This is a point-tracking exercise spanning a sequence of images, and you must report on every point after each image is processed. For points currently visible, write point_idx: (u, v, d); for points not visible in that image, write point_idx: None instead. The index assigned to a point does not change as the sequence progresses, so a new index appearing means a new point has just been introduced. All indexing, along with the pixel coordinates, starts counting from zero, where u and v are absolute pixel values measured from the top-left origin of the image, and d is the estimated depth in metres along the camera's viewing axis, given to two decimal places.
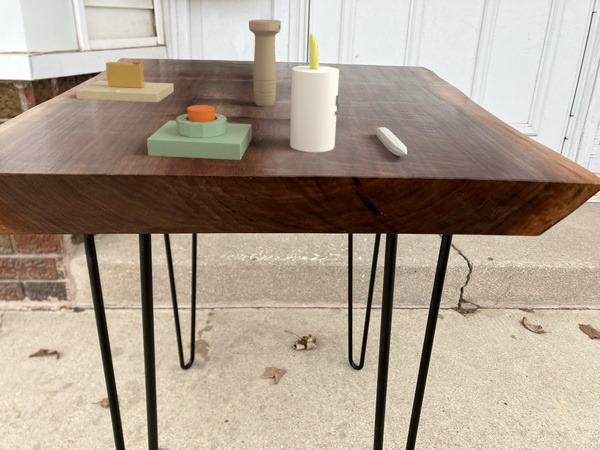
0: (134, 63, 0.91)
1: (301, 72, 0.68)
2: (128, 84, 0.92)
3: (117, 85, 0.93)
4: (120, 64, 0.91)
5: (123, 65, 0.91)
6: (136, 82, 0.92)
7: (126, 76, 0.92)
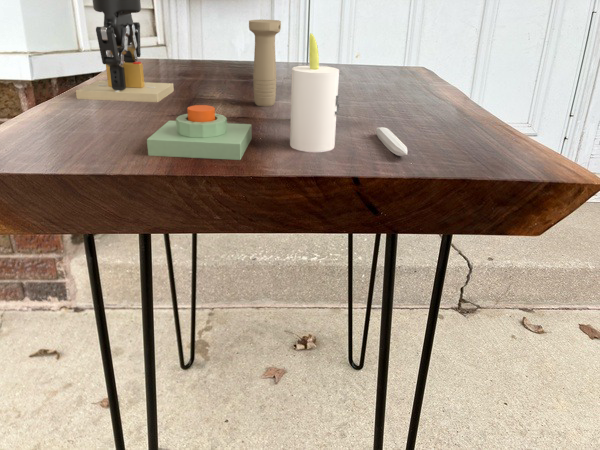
0: (134, 63, 0.91)
1: (301, 72, 0.68)
2: (128, 84, 0.92)
3: None
4: None
5: None
6: (136, 82, 0.92)
7: (126, 76, 0.92)
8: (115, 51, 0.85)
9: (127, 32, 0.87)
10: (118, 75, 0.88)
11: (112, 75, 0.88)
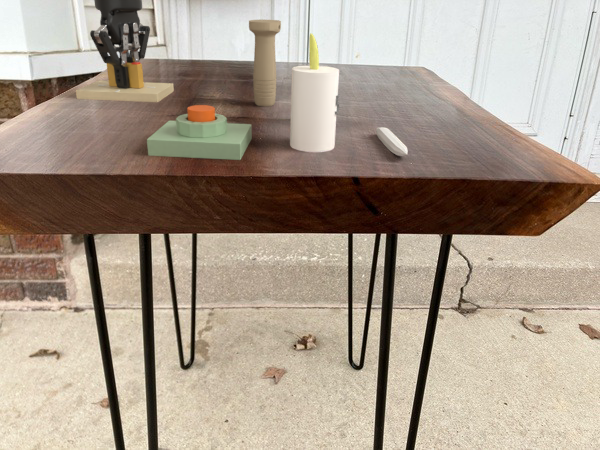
0: (132, 63, 0.91)
1: (301, 72, 0.68)
2: None
3: None
4: None
5: None
6: (134, 82, 0.92)
7: None
8: (112, 52, 0.86)
9: (124, 30, 0.87)
10: (120, 74, 0.90)
11: (115, 74, 0.90)
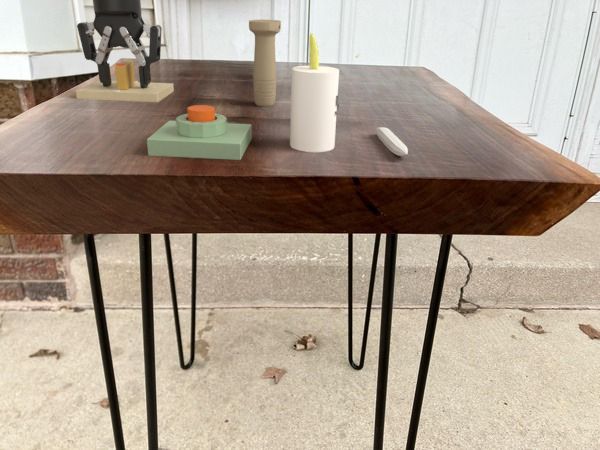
0: (117, 64, 0.90)
1: (301, 72, 0.68)
2: None
3: None
4: None
5: None
6: None
7: None
8: (84, 46, 0.89)
9: (105, 33, 0.88)
10: (98, 71, 0.92)
11: None
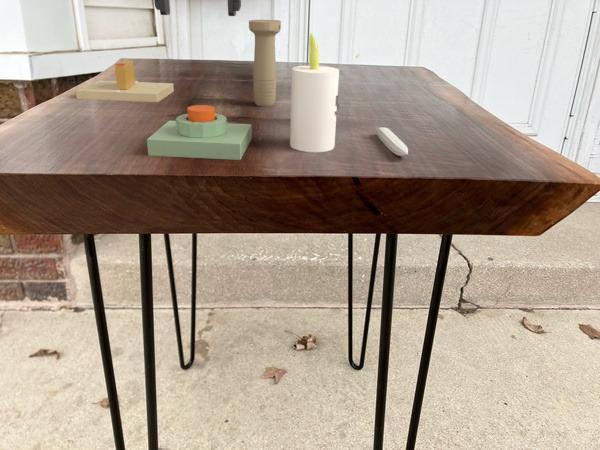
0: (117, 64, 0.90)
1: (301, 72, 0.68)
2: None
3: None
4: None
5: None
6: None
7: None
8: None
9: None
10: None
11: None
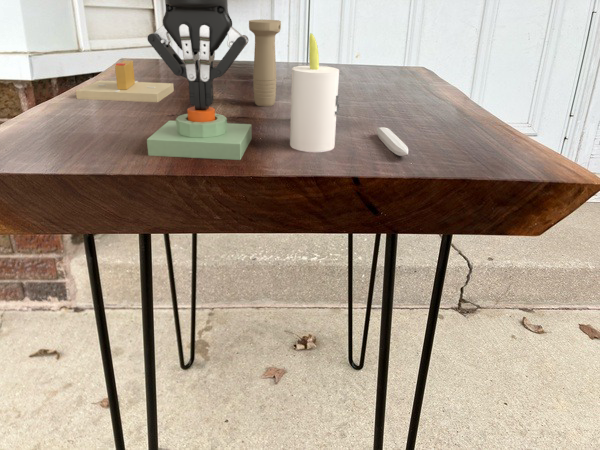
0: (117, 64, 0.90)
1: (301, 72, 0.68)
2: None
3: None
4: None
5: None
6: None
7: None
8: (167, 61, 0.67)
9: (180, 33, 0.64)
10: None
11: None
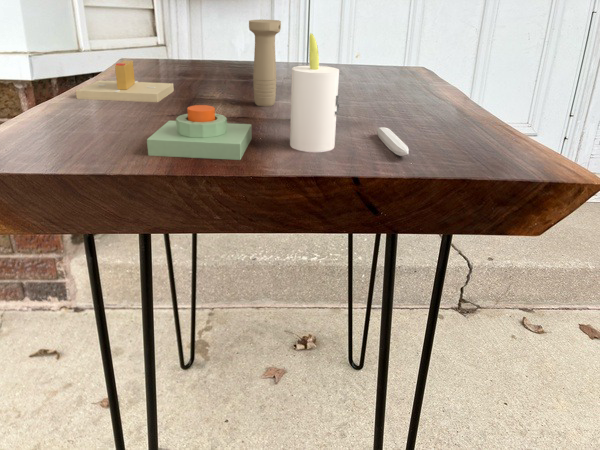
0: (117, 64, 0.90)
1: (301, 72, 0.68)
2: None
3: None
4: None
5: None
6: None
7: None
8: None
9: None
10: None
11: None
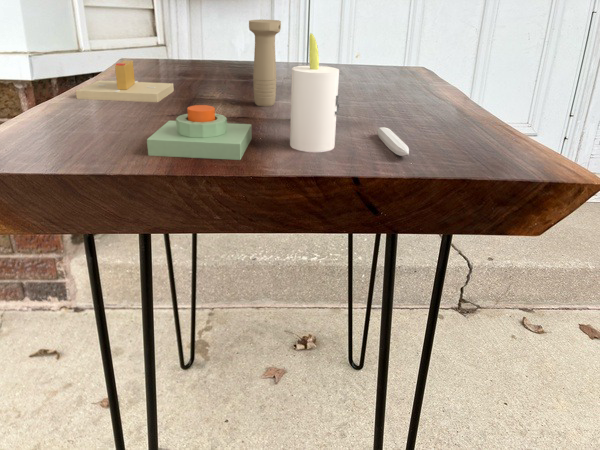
0: (117, 64, 0.90)
1: (301, 72, 0.68)
2: None
3: None
4: None
5: None
6: None
7: None
8: None
9: None
10: None
11: None
